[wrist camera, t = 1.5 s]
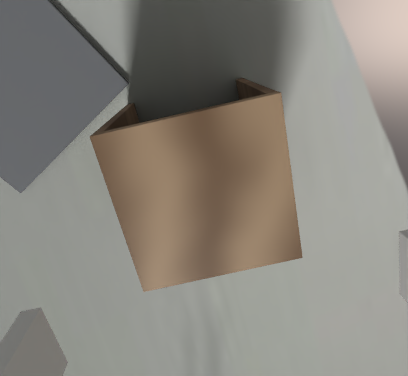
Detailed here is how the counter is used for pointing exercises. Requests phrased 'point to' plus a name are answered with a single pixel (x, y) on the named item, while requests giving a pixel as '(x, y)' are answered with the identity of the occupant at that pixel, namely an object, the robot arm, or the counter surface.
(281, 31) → the counter surface
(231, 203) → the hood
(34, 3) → the mat
